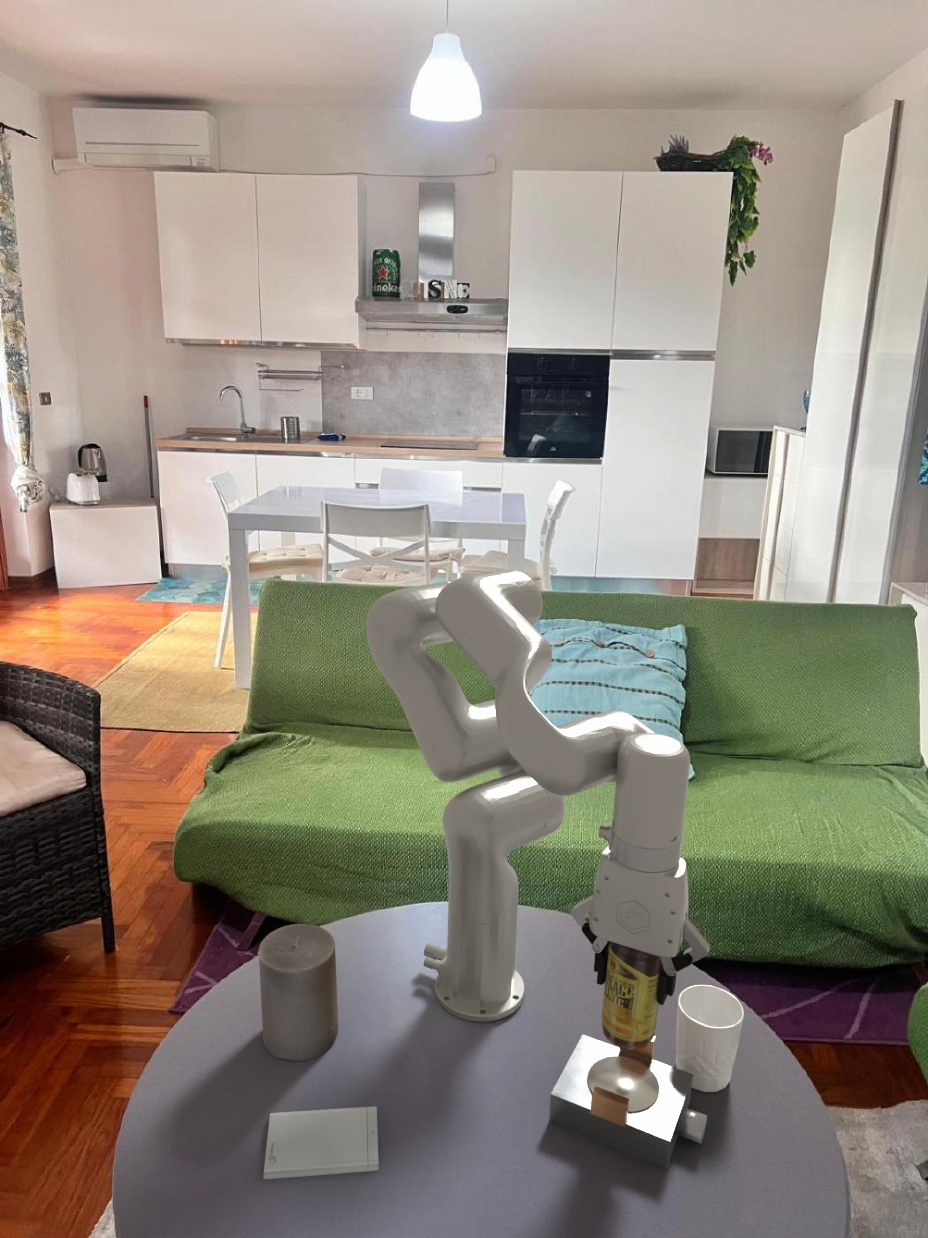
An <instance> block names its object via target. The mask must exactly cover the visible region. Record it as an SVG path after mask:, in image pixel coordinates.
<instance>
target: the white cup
mask: <svg viewBox="0 0 928 1238" xmlns="http://www.w3.org/2000/svg"><path fill="white" fill-rule="evenodd" d="M744 1010H745V1009H744V1008H743V1005H742V1004H741V1002H740V1000H739V999H737V997H735V996H734V995H733V994H732V993H730V992H729V991H726V990H725V989H722V988H721V987H717V986H713V985H708V984H695V985H691V986H689V987H686V988H684V989H683V990H682V991H681V992H680V993H679V995H678V998H677V1012H676V1013H677V1015H676V1029H675V1032H676V1034H675V1052H676V1055H675V1068H677V1069H680V1070H683V1071H685V1072H688V1073H691V1074H693V1081H692V1089H695V1090H697V1091H701V1092H704V1093H717V1092H719V1091H721V1090H723V1089H726V1088H727V1086H728V1084H729V1083H730V1081H731V1078H732V1072H733V1068H734V1063H735V1061H736V1057H737V1052H738V1048H739V1042H740V1039H741V1038H740V1036H741V1031H742V1026H743V1021H744V1016H745V1013H744V1012H745V1011H744Z"/></svg>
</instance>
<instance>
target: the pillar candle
mask: <svg viewBox="0 0 928 1238" xmlns="http://www.w3.org/2000/svg"><path fill="white" fill-rule="evenodd" d="M257 956H258V962H259V963H258V965H259V980H260V981H259V982H260V983H259V984H260V985H259V986H260V999H261V1000H260V1001H261V1003H260V1004H261V1017H262V1018H261V1019H262V1021H261V1022H262V1039H263V1040H262V1041H263V1044H264V1047H265V1049H266V1050H267V1052H268V1053H269V1054H270V1055H272V1056H273V1057H275V1058H277V1059H282V1060H288V1061H294V1062H296V1061H297V1062H304V1061H309V1060H312V1059H314V1058H317V1057H319V1056H321V1055H323V1054H324V1053H326V1052H327V1051H328V1050H329V1049H330V1048H331V1047H332V1046H333V1045H334V1044H335V1041H336V1040H337V1037H338V1034H339V1016H338V1015H339V1013H338V1012H339V1011H338V1008H339V1007H338V987H337V986H338V985H337V960H336V959H337V958H336V942H335V939H334V936H333V935H332V934H331V932H329V931H328V930H326V929H325V928H323V927H321V926H318V925H315V924H308V923H295V924H288V925H284V926H281V927H279V928H276V929H275V930H273V931H271V932H270V933H269V934H267V935H266V936H265V937H264V938H263V939H262V941H261V943H260V944H259V947H258V951H257Z"/></svg>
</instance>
